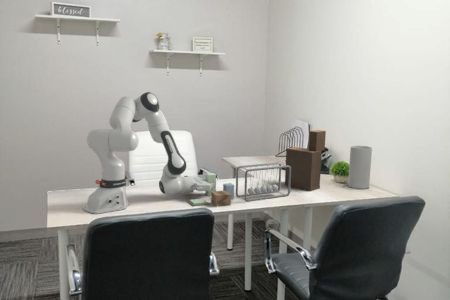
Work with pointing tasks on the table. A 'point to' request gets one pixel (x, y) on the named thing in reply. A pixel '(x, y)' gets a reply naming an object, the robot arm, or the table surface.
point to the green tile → (197, 202)
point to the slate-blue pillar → (229, 189)
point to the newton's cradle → (263, 188)
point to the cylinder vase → (359, 167)
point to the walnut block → (221, 198)
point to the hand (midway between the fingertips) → (212, 182)
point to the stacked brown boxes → (306, 163)
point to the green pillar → (210, 179)
